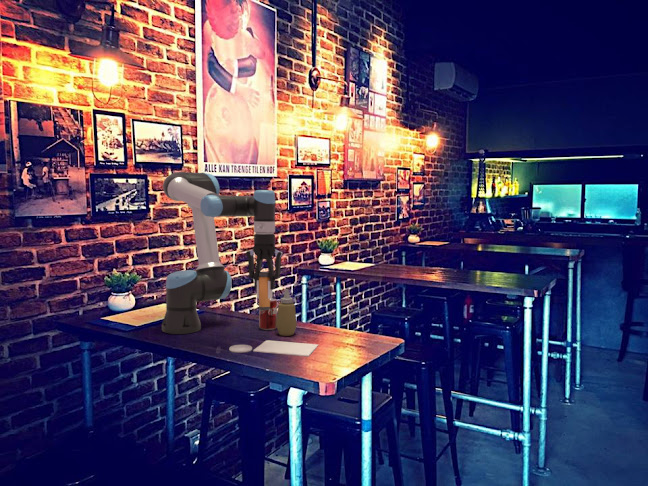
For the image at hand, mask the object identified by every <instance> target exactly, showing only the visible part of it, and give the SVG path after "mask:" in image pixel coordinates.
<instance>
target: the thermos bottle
mask: <svg viewBox="0 0 648 486" xmlns="http://www.w3.org/2000/svg"><path fill="white" fill-rule="evenodd" d="M268 281H270V277H269V271H261V272H259V299H258V310H270V299H268Z"/></svg>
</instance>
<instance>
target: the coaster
mask: <svg viewBox="0 0 648 486" xmlns="http://www.w3.org/2000/svg"><path fill="white" fill-rule="evenodd" d="M251 351H253V346H251V345H249V344H234V345H231V346H230V347H229V352H231V353H236V354H237V353H238V354H239V353H241V354H242V353H249V352H251Z"/></svg>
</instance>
